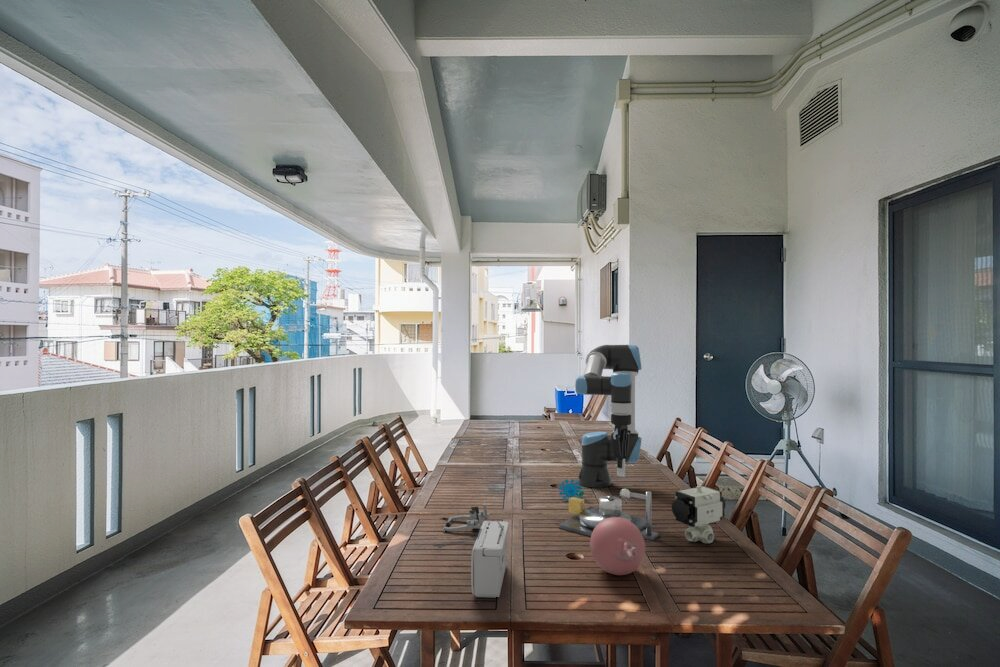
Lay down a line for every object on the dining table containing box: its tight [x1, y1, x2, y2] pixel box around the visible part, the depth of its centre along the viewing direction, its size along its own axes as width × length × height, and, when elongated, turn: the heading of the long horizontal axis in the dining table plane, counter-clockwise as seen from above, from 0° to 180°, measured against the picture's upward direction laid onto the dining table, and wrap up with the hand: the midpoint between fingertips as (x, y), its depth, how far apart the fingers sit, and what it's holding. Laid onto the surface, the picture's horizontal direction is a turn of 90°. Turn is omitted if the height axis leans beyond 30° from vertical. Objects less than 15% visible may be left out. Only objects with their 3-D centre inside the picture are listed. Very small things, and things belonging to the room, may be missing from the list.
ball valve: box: [671, 485, 726, 544], centre depth 168 cm, size 18×8×18 cm, turn 117°
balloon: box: [589, 517, 646, 576], centre depth 143 cm, size 15×20×15 cm
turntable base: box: [558, 506, 646, 537], centre depth 181 cm, size 24×24×1 cm
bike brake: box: [442, 503, 490, 533], centre depth 180 cm, size 14×7×20 cm
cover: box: [598, 494, 623, 517], centre depth 185 cm, size 8×8×6 cm
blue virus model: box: [558, 478, 586, 502], centre depth 212 cm, size 11×6×10 cm
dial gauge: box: [619, 488, 659, 541], centre depth 174 cm, size 5×12×15 cm, turn 53°
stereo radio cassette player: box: [470, 519, 510, 598], centre depth 140 cm, size 21×8×20 cm, turn 174°
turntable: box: [568, 496, 631, 529], centre depth 183 cm, size 18×23×6 cm
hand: (621, 475), depth 192 cm, fingers closed
